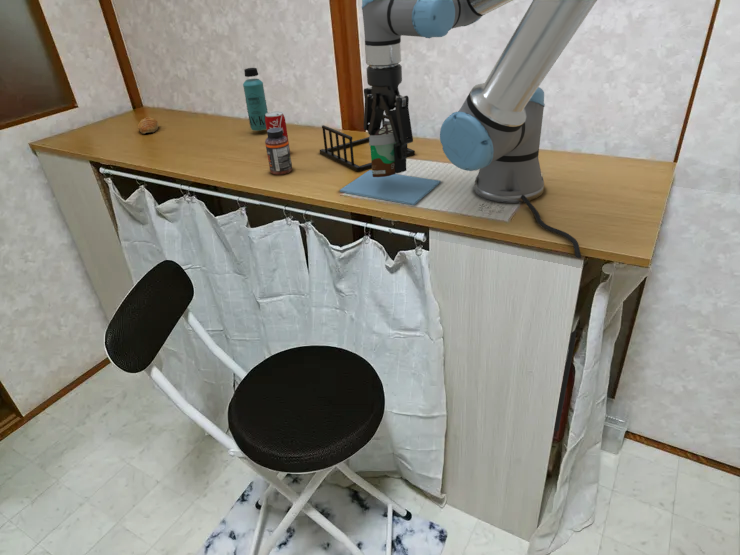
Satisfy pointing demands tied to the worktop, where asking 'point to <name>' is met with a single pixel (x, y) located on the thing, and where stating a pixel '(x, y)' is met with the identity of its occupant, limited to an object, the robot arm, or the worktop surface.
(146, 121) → the pastry
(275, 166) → the supplement bottle
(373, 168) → the food container
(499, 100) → the robot arm
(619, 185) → the worktop surface
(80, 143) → the worktop surface
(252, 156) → the worktop surface
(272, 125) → the soda can
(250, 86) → the beverage bottle
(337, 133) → the dish rack
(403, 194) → the drying mat
